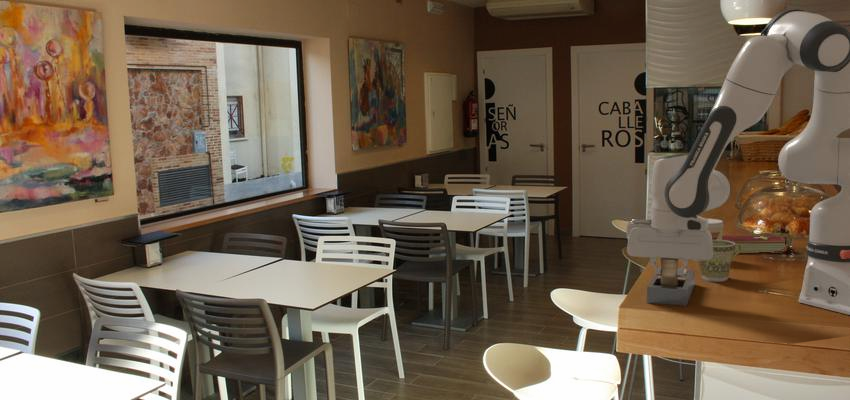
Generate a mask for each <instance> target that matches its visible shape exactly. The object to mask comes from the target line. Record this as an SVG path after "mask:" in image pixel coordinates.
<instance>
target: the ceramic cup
mask: <svg viewBox="0 0 850 400" xmlns="http://www.w3.org/2000/svg"><path fill="white" fill-rule="evenodd" d="M712 241H713V257H712V258H711V259H710V260H699V262H698V263H699V268H700V274H701V275H700V276H701V279H702V280H703V281H706V282H714V283H715V282H717V283H718V282H726V281H728V279H729V276H730V275H729V274H730V270H731V265H732V261H733V260H734V258H735V257H736V256H737V255H739V254H740V253H739V252H740V251H741V246H740V244H738V243H734V242H731V241H726V240H712ZM737 245H738V246H739V250H738V252H737V253H734V250H735V246H737Z"/></svg>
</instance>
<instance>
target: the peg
mask: <svg viewBox="0 0 850 400" xmlns="http://www.w3.org/2000/svg"><path fill="white" fill-rule="evenodd" d="M660 267H661V286H670V287H678V277H677V269H678V268H679V259H672V258H660Z"/></svg>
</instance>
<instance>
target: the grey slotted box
mask: <svg viewBox="0 0 850 400" xmlns="http://www.w3.org/2000/svg"><path fill="white" fill-rule="evenodd" d="M695 277H696V270H695V269H686V268H685V269H684V276H683V277H678V287H670V286H661V275H655V274H654V275H653V276H652V278H651V279H650V281H649V282H648V285H646V303H647V304H655V305H656V304H657V305H669V306H670V305H671V306H683V307H687V305H688V303H689V301H690V298H691V295H692V293H693V290H694V286H695V284H696V283H695Z"/></svg>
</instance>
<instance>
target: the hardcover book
mask: <svg viewBox="0 0 850 400" xmlns="http://www.w3.org/2000/svg"><path fill="white" fill-rule="evenodd" d="M754 235H755V234H753V235H752V234H751V235H749V234H747V235H746V234H744V235H742V234H741V235H738V234H737V235H736V234H735V235H722V240H726V241H731V242H734V243H738V244H740V246H741V251H740V252H739V253H738V254H741V253H742V254H747V253H748V254H752V253H754V254H757V253H759V252H771V253H775V252H774V251H780V250H782V249H784V247H785V238H783V237H781V238H777V237H764V236H754ZM738 250H739V246H738V245H737V246H735V250H734V254H736V253H737V252H738Z"/></svg>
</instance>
